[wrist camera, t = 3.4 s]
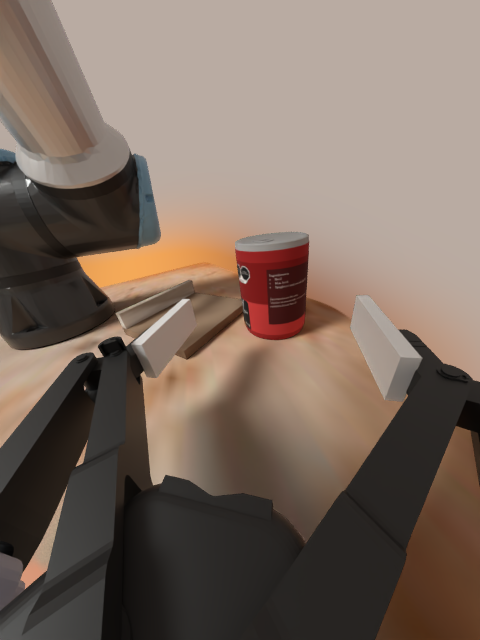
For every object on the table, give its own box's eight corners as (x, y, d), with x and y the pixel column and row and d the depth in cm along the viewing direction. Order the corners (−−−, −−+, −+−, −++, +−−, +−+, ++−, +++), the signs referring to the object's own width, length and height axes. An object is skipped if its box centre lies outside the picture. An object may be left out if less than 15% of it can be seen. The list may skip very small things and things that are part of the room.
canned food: (257, 308, 31) (250, 234, 25) (309, 314, 27) (315, 229, 22) (234, 335, 25) (220, 246, 20) (297, 346, 21) (301, 242, 16)
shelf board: (125, 334, 29) (114, 312, 27) (191, 297, 39) (187, 280, 37) (186, 359, 22) (177, 332, 20) (248, 307, 32) (246, 286, 30)
